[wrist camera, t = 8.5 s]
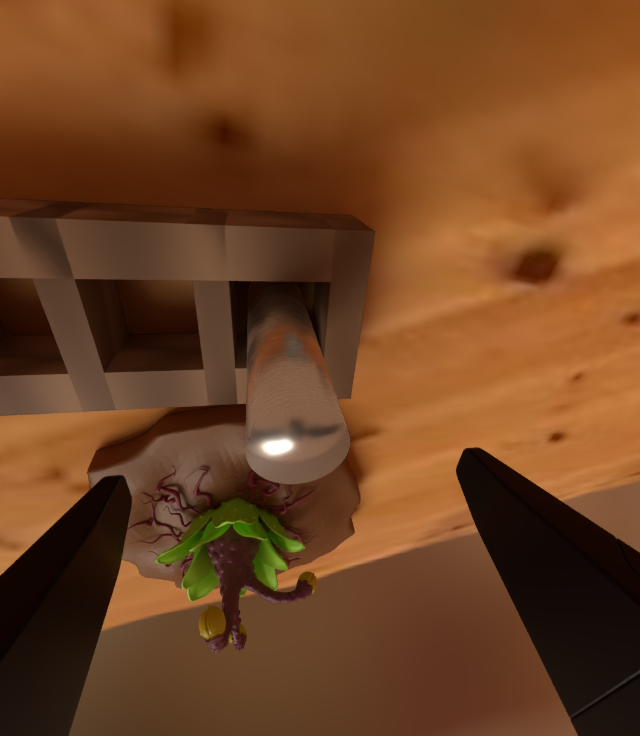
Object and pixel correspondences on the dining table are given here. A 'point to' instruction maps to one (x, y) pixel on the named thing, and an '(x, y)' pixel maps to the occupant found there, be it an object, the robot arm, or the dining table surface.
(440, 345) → the dining table surface
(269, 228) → the hole block
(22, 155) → the dining table surface
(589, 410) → the dining table surface
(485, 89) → the dining table surface
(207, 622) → the plant
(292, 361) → the peg
